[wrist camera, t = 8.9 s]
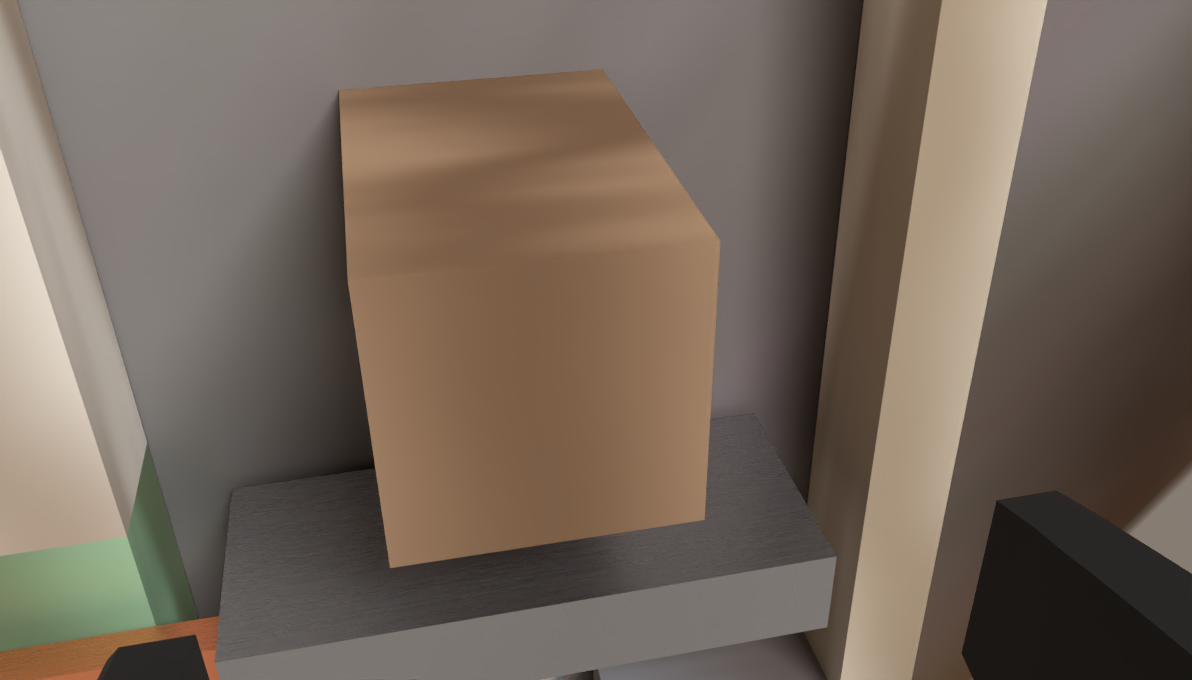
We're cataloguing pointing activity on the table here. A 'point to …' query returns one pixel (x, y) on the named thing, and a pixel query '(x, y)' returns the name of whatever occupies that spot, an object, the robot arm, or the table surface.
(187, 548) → the table surface
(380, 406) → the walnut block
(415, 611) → the gauge plate
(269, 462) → the table surface
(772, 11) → the table surface
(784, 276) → the table surface
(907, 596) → the gauge bed
